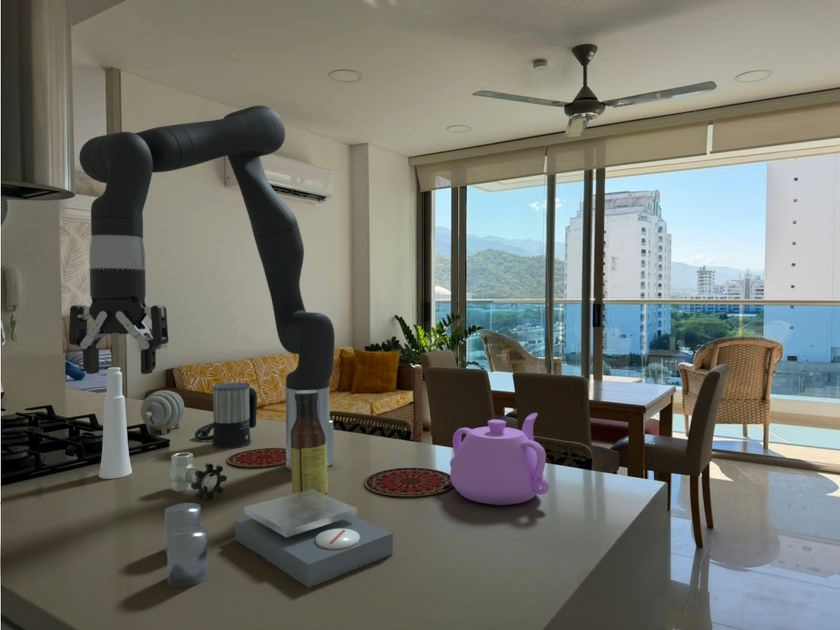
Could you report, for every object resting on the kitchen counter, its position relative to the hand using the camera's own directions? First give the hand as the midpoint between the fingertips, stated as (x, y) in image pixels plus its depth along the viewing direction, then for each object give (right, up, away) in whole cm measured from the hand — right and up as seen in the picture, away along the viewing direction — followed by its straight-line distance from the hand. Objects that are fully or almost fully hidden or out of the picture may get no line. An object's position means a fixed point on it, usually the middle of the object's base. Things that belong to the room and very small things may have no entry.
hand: (119, 373), depth 89 cm
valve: (+4, -25, +20) cm, 32 cm away
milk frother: (-4, -23, +58) cm, 63 cm away
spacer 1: (+12, -25, -5) cm, 28 cm away
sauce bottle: (+26, -25, +15) cm, 39 cm away
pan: (+28, -21, -2) cm, 35 cm away
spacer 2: (+16, -25, -13) cm, 33 cm away
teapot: (+62, -25, +21) cm, 70 cm away
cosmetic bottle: (-17, -24, +30) cm, 42 cm away
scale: (+30, -25, -4) cm, 39 cm away
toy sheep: (-24, -23, +69) cm, 76 cm away
